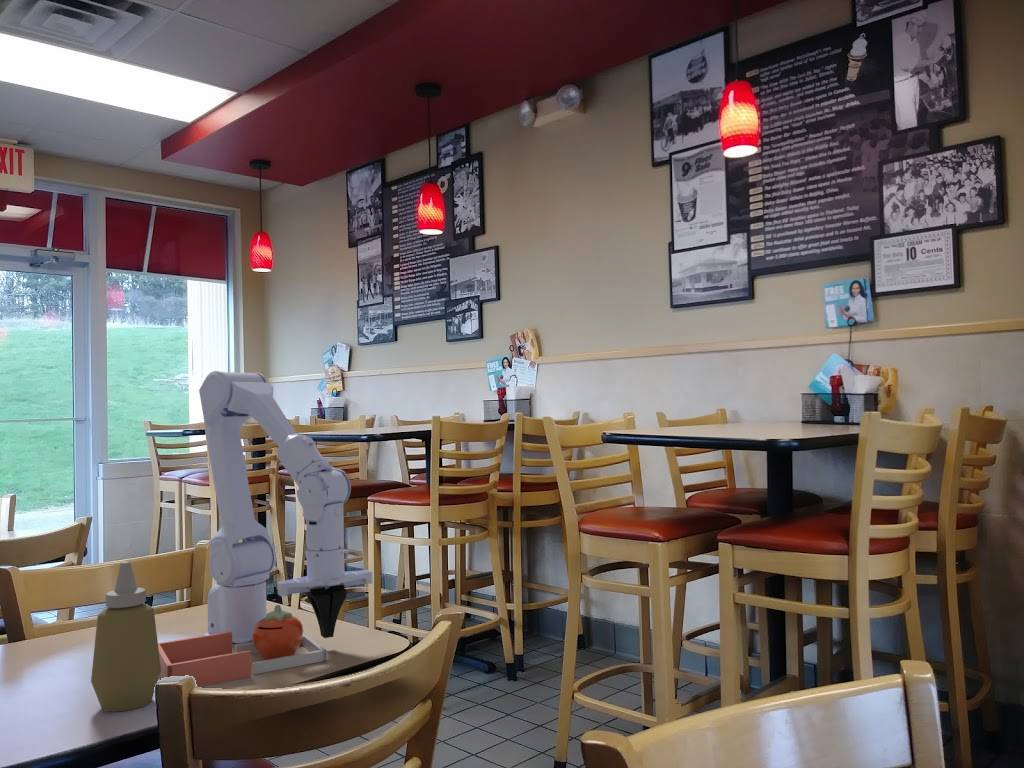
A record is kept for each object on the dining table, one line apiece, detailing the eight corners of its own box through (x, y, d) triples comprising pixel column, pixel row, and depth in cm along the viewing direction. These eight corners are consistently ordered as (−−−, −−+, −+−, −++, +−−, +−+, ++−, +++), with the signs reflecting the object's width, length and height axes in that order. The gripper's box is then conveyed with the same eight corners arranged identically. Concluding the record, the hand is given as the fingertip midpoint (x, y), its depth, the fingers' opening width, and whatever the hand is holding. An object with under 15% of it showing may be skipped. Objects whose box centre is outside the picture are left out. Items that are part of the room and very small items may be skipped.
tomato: (243, 665, 116) (242, 610, 117) (266, 650, 124) (265, 598, 124) (291, 666, 115) (290, 611, 116) (311, 651, 123) (310, 598, 123)
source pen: (304, 642, 127) (304, 633, 127) (326, 660, 118) (326, 650, 118) (235, 654, 122) (235, 645, 122) (253, 674, 112) (253, 663, 112)
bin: (231, 654, 122) (231, 631, 122) (251, 676, 111) (250, 651, 111) (154, 667, 117) (154, 643, 117) (167, 692, 106) (167, 665, 106)
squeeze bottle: (107, 695, 105) (106, 558, 106) (170, 691, 106) (168, 555, 107) (79, 718, 97) (78, 570, 98) (147, 714, 98) (146, 567, 99)
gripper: (285, 557, 117) (287, 650, 116) (378, 546, 124) (380, 633, 124) (273, 550, 123) (274, 639, 122) (362, 540, 130) (364, 624, 130)
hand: (327, 636), depth 124 cm, fingers closed
